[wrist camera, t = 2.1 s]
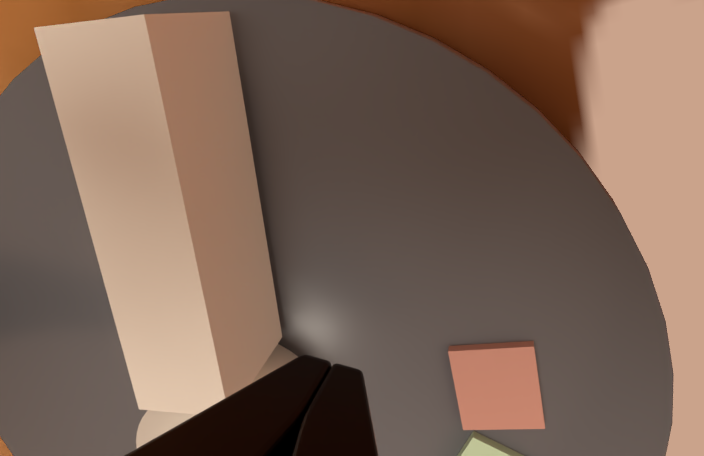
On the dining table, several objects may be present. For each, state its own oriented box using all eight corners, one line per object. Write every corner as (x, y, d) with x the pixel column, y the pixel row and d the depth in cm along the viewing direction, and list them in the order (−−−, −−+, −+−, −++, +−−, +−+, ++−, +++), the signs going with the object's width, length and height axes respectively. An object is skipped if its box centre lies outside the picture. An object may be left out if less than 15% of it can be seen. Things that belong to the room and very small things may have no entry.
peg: (359, 632, 22) (332, 750, 18) (240, 611, 23) (194, 717, 20) (273, 6, 14) (199, 7, 11) (101, 26, 15) (-13, 33, 12)
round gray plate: (73, 574, 28) (51, 603, 27) (-125, 37, 19) (-172, 40, 18) (632, 674, 21) (641, 719, 20) (709, -67, 13) (733, -75, 12)
